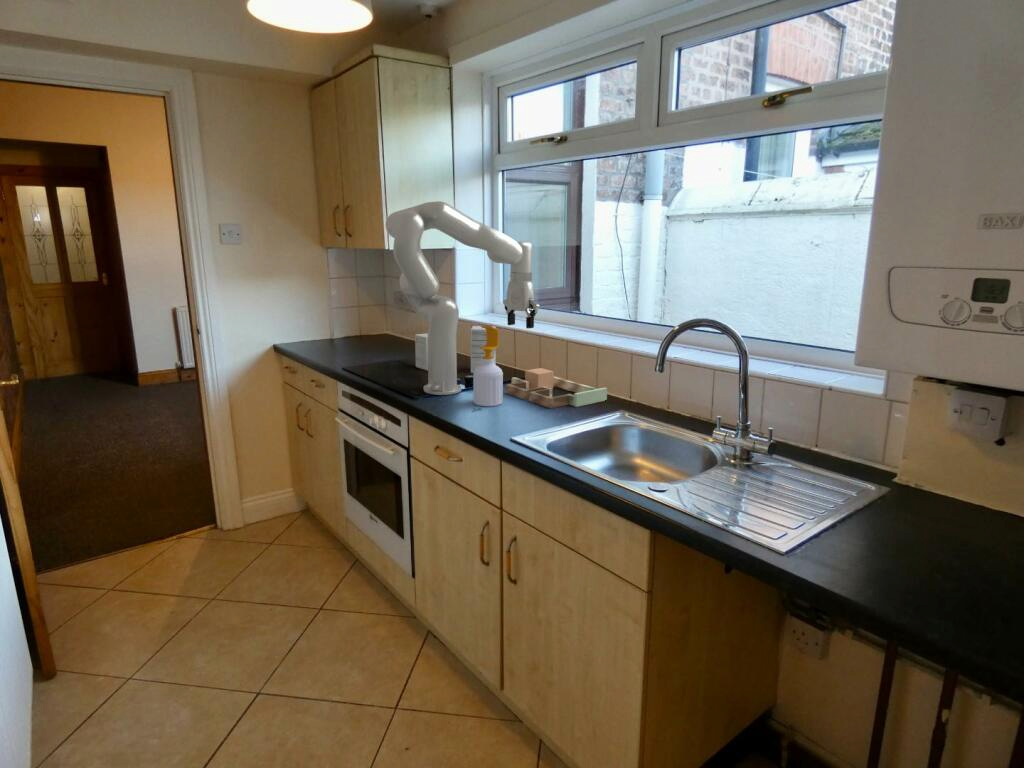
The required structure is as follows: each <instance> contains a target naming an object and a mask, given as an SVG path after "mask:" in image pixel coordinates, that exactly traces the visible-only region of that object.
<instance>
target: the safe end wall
mask: <svg viewBox="0 0 1024 768" xmlns="http://www.w3.org/2000/svg"><path fill="white" fill-rule="evenodd" d="M573 393H574V394H573V395H574V406H573V407H575V408H577V407H581V406H586V405H592V404H595V403H601V402H605V400H606V401H607V399H608V387H601V388H597V389H594V390H589V391H584V392H579V393H576V392H573Z"/></svg>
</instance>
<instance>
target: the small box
mask: <svg viewBox="0 0 1024 768" xmlns="http://www.w3.org/2000/svg"><path fill="white" fill-rule="evenodd" d="M427 338H428V332H427V333H417V334H414V340H415V341H414V343H415V344H414V346H415V367H416V368H418V369H422V370H425V371H428V345H427Z"/></svg>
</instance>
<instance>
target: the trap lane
mask: <svg viewBox="0 0 1024 768" xmlns="http://www.w3.org/2000/svg"><path fill="white" fill-rule="evenodd" d="M554 387H556V388H559V389H562V390H566V391H570V392H573V393H579V392H584V391H589V390H594V389H598V388H597V387H593V386H589V385H586V384H582V383H580V382H574V381H571V380H568V379H565V378H561V377H557V376H554ZM505 393H506V394H507V395H510V396H513V397H516V398H519V399H522V400H526V401H527V400H528V401H529V402H531V403H534V404H536V405H540V406H542V407H546V408H548V409H554V408H559V407H563V406H568V405H570V406H573V407H575V406H574V394H572V393H567V394H563V395H562V394H561V395H557V396H553V388H548V387H545V386H544V387H538V388H533V389H530V388H529V382H528V381H525V379H521V378H518V377H516V376H515V377H511V383H508V384H507V383H506V384H505Z"/></svg>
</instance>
